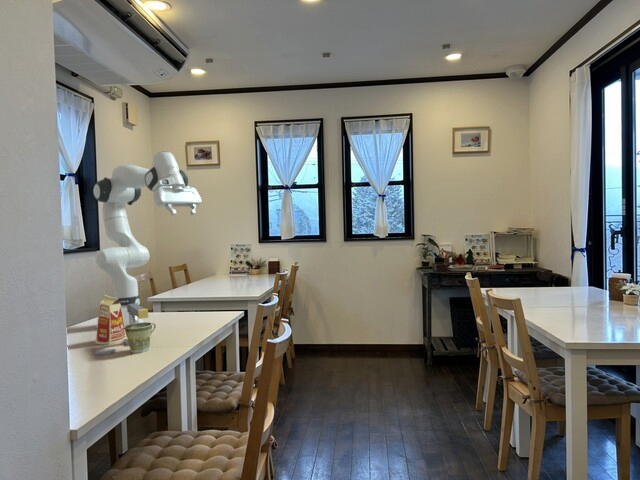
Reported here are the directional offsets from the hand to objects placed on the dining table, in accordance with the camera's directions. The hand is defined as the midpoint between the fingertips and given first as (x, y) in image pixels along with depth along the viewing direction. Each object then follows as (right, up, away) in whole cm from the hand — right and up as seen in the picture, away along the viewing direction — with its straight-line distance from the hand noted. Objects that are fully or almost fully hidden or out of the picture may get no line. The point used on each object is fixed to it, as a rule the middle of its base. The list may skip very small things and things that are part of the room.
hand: (184, 214), depth 187 cm
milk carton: (-33, -54, +8) cm, 64 cm away
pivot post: (-22, -53, +4) cm, 58 cm away
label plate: (-27, -54, -11) cm, 62 cm away
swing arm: (-18, -41, -4) cm, 44 cm away
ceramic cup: (-13, -54, -8) cm, 56 cm away
